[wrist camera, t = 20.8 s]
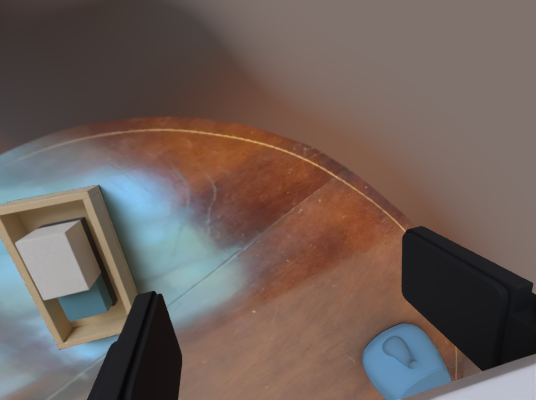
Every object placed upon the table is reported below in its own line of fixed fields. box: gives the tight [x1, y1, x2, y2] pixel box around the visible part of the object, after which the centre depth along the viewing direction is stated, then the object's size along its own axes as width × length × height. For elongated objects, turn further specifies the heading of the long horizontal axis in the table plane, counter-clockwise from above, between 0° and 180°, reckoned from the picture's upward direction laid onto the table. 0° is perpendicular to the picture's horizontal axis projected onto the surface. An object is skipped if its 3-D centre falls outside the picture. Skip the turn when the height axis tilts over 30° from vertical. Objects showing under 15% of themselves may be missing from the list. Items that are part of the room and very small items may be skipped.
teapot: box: [363, 323, 452, 400], centre depth 44 cm, size 13×11×18 cm
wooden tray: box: [0, 185, 139, 350], centre depth 32 cm, size 19×10×3 cm, turn 9°
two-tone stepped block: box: [15, 217, 118, 322], centre depth 31 cm, size 12×5×5 cm, turn 9°
